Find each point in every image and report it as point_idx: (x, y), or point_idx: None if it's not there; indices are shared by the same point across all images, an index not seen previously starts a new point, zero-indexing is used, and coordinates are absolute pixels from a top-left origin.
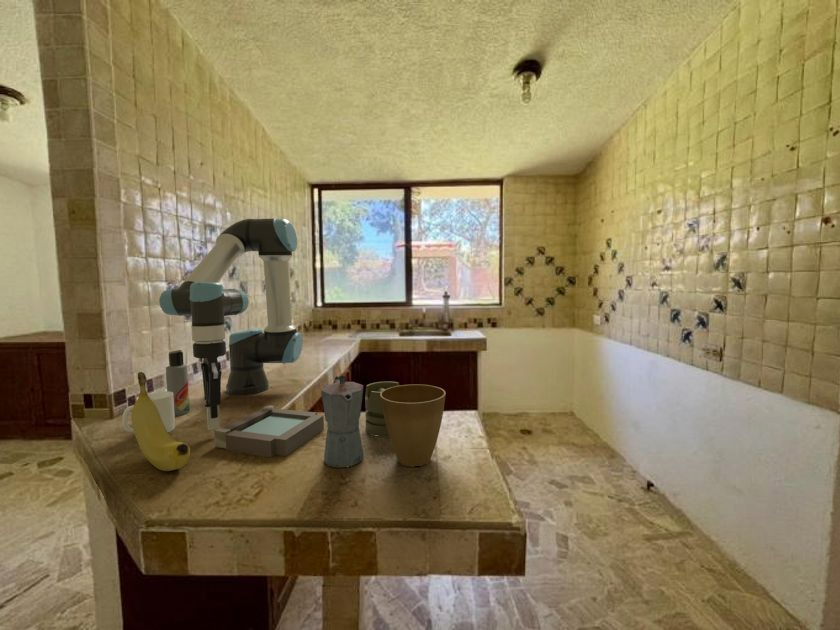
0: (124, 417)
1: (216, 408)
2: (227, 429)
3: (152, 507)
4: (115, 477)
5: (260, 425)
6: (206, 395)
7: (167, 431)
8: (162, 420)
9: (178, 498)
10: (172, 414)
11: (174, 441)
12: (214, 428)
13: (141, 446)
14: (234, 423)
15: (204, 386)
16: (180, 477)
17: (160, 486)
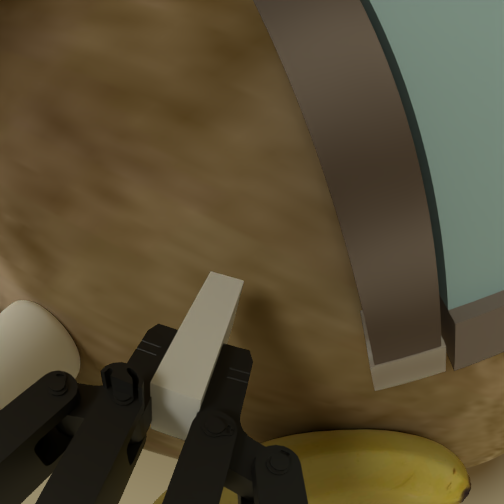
0: None
1: (239, 410)
2: (428, 354)
3: (470, 461)
4: None
5: (477, 145)
6: (123, 489)
7: (69, 340)
8: None
9: (492, 440)
10: (22, 354)
11: (377, 493)
12: (236, 308)
13: None
14: (379, 284)
15: (27, 495)
16: (437, 432)
17: None
